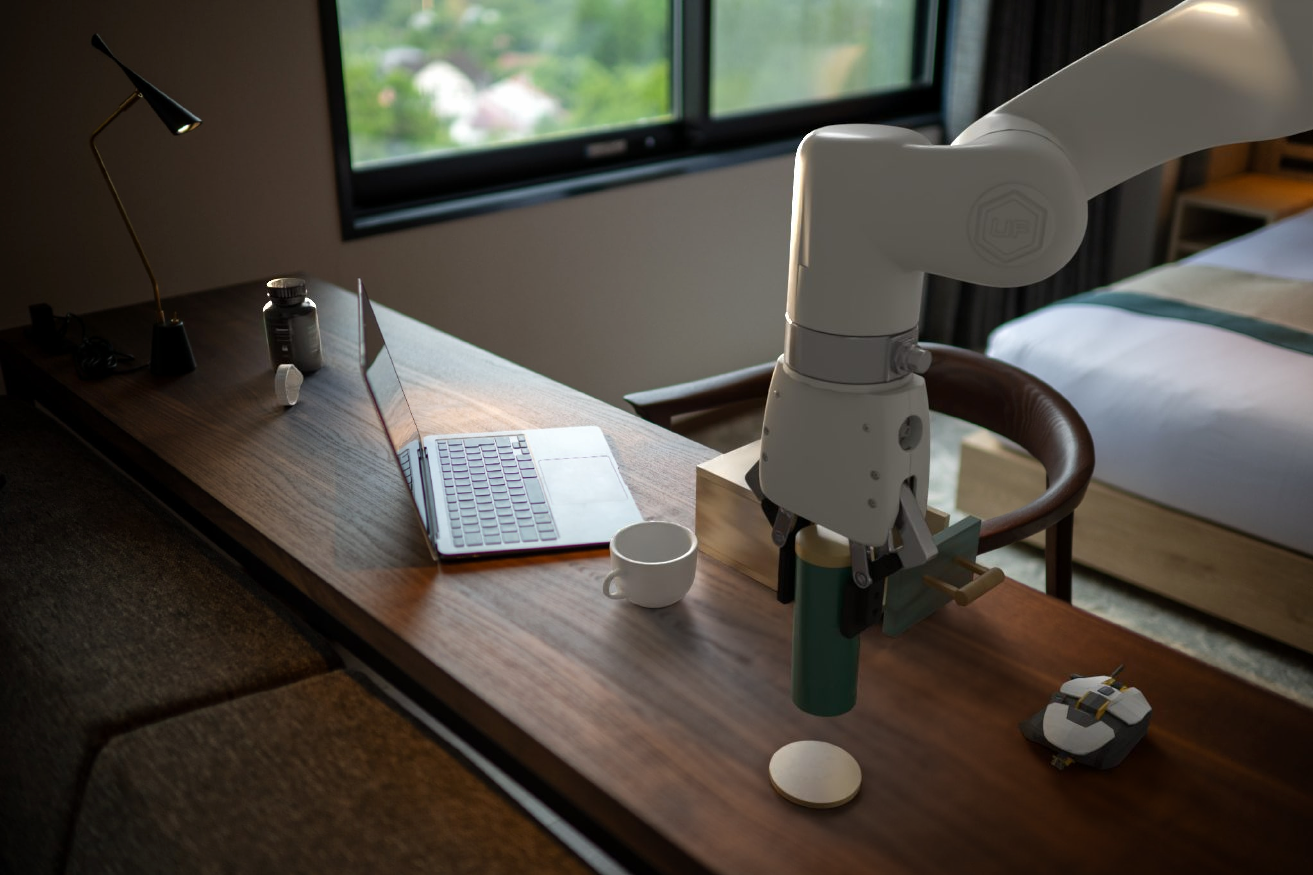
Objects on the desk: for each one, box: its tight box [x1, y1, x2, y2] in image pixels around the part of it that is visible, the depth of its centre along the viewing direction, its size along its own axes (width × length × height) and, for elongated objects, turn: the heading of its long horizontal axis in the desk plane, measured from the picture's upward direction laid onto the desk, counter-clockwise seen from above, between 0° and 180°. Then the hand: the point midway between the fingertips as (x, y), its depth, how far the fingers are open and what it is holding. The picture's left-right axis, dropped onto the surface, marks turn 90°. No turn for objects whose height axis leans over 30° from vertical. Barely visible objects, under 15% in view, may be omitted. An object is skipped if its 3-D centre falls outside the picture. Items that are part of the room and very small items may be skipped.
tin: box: [790, 524, 862, 718], centre depth 72 cm, size 4×4×12 cm
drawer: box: [870, 504, 1006, 639], centre depth 95 cm, size 17×12×7 cm
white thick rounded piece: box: [274, 365, 304, 406], centre depth 137 cm, size 3×5×5 cm, turn 1°
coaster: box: [768, 740, 863, 810], centre depth 77 cm, size 6×6×1 cm
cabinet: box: [694, 438, 816, 592], centre depth 103 cm, size 14×13×9 cm
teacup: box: [602, 520, 699, 609], centre depth 96 cm, size 10×8×5 cm
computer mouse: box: [1018, 663, 1155, 771], centre depth 81 cm, size 7×15×4 cm, turn 136°
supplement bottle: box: [262, 277, 324, 376], centre depth 147 cm, size 7×7×12 cm
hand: (826, 609), depth 71 cm, fingers closed on tin, 4 cm apart
